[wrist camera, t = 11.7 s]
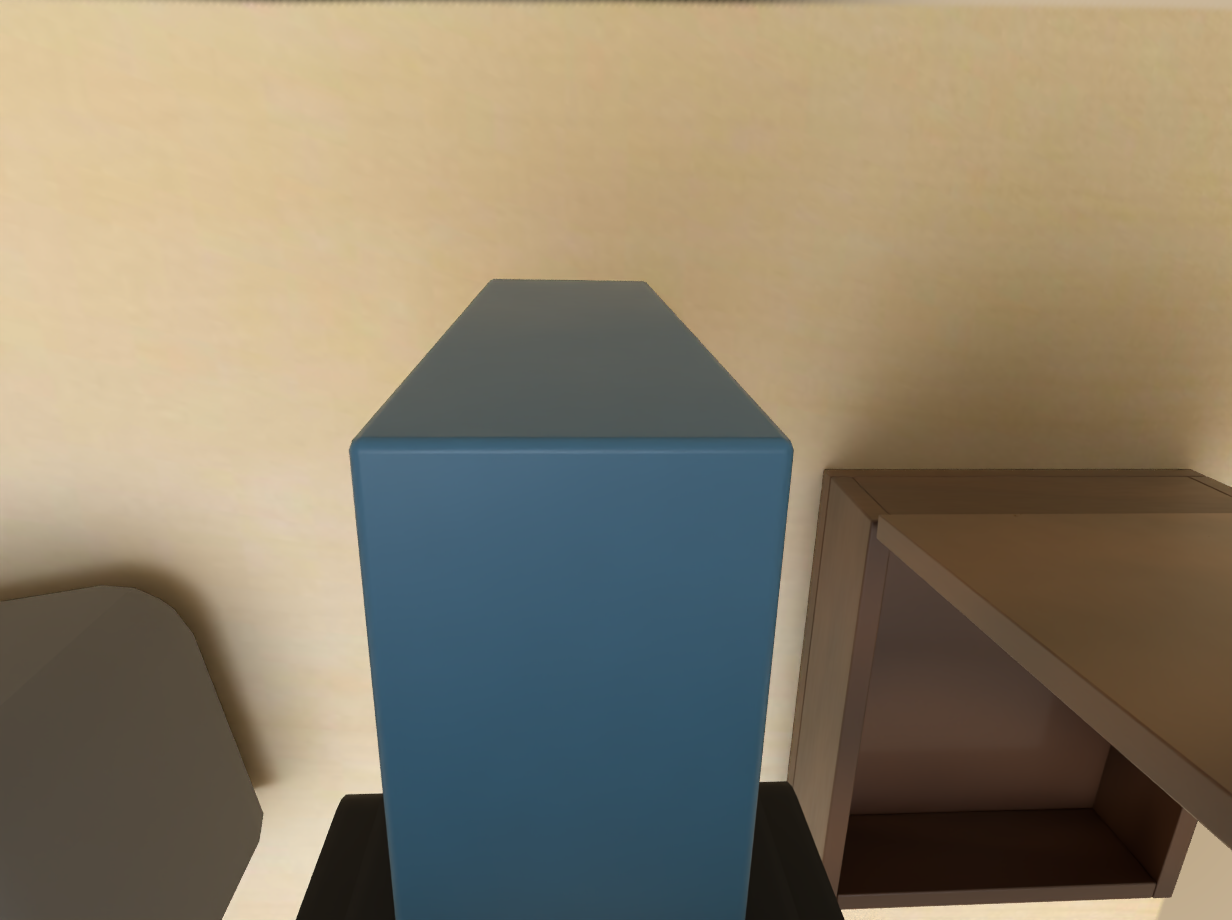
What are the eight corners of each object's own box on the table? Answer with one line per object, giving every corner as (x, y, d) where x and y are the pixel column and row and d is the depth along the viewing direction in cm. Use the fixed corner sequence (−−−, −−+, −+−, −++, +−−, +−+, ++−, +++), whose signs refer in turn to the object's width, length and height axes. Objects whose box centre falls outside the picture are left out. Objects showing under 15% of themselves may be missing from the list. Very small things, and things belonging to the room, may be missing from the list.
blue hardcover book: (626, 879, 16) (685, 1522, 8) (508, 883, 15) (455, 1543, 8) (647, 280, 12) (799, 441, 4) (489, 278, 11) (343, 440, 4)
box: (1093, 807, 35) (1171, 897, 31) (782, 816, 34) (815, 911, 30) (1191, 468, 30) (1303, 518, 25) (823, 469, 29) (871, 520, 24)
